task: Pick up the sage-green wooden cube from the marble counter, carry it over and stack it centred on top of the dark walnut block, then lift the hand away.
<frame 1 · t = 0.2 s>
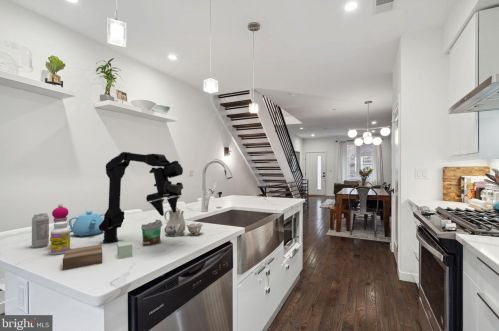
hand: (168, 214, 110), 15 cm above the counter, tool pointing down, fingers open, 9 cm apart
supplement bottle: (60, 253, 104), on the counter
teapot: (89, 235, 133), on the counter
food container: (154, 243, 117), on the counter
chinaware: (179, 234, 134), on the counter
walnut block: (83, 261, 94), on the counter
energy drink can: (40, 246, 113), on the counter
sage cube: (124, 256, 99), on the counter
pepper mill: (60, 247, 111), on the counter
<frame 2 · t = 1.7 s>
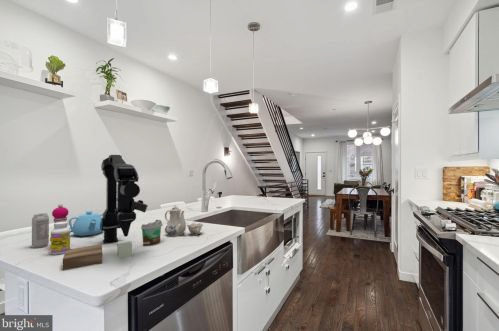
hand: (124, 233, 100), 9 cm above the counter, tool pointing down, fingers open, 9 cm apart
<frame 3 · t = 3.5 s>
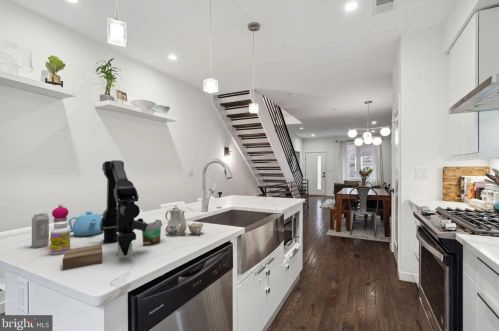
hand: (124, 253, 99), 1 cm above the counter, tool pointing down, fingers closed on sage cube, 5 cm apart
sage cube: (124, 255, 99), on the counter, touching gripper
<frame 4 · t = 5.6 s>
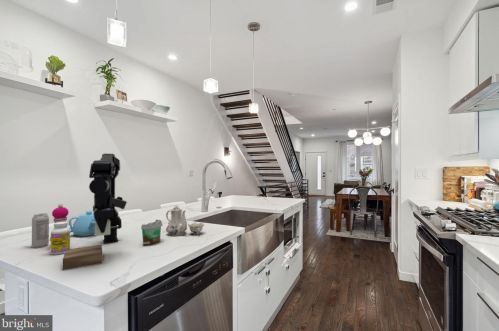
hand: (102, 231, 96), 11 cm above the counter, tool pointing down, fingers closed on sage cube, 5 cm apart
sage cube: (102, 233, 96), point 10 cm above the counter, touching gripper
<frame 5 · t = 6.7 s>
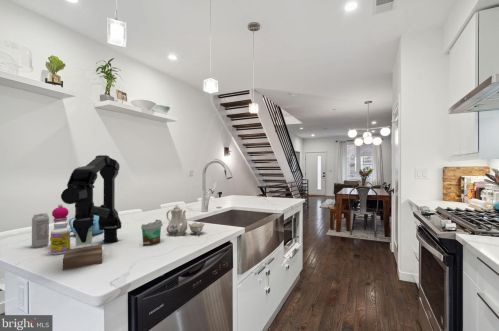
hand: (84, 240, 94), 8 cm above the counter, tool pointing down, fingers closed on sage cube, 5 cm apart
sage cube: (84, 243, 94), point 7 cm above the counter, touching gripper
when the fingers open (6 cm above the counter, at t = 7.8 s): sage cube drops 1 cm, resting on walnut block.
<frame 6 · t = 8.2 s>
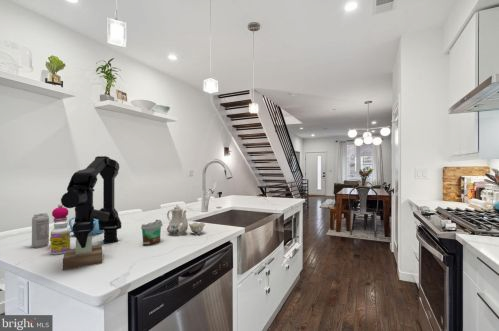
hand: (84, 244, 94), 6 cm above the counter, tool pointing down, fingers open, 9 cm apart
sage cube: (83, 251, 94), point 4 cm above the counter, touching walnut block
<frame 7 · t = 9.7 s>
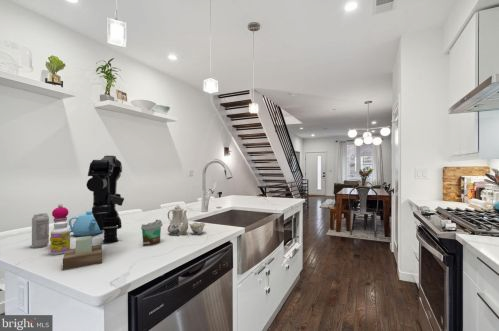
hand: (101, 226, 102), 12 cm above the counter, tool pointing down, fingers open, 9 cm apart
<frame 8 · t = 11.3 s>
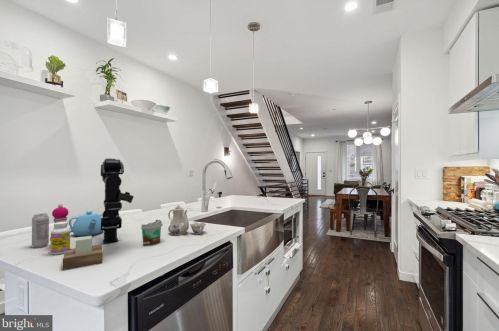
hand: (112, 222, 108), 12 cm above the counter, tool pointing down, fingers open, 9 cm apart
at the end: sage cube inside the target area on the walnut block (0.0 cm from its centre), point 4.0 cm above the walnut block's base; sage cube tilted 0°; the gripper is holding nothing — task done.
